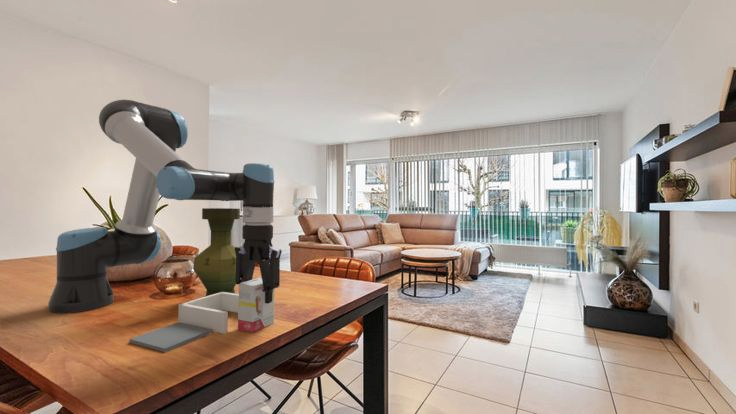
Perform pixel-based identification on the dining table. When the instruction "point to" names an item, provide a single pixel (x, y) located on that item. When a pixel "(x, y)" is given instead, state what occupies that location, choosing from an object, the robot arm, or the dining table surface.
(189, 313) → the frame
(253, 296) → the ink box
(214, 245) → the vase
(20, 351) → the dining table surface
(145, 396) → the dining table surface
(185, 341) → the stand pad
